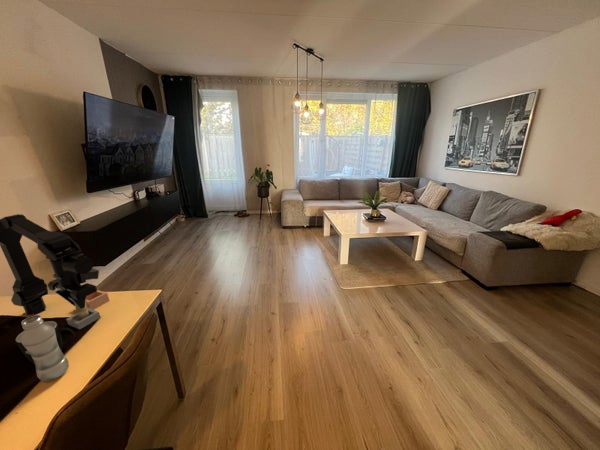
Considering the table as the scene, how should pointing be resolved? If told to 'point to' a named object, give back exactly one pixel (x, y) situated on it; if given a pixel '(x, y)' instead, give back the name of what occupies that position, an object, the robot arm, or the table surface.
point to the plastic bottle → (43, 348)
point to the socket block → (84, 322)
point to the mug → (58, 337)
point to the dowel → (82, 312)
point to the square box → (96, 299)
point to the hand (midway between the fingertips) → (79, 306)
